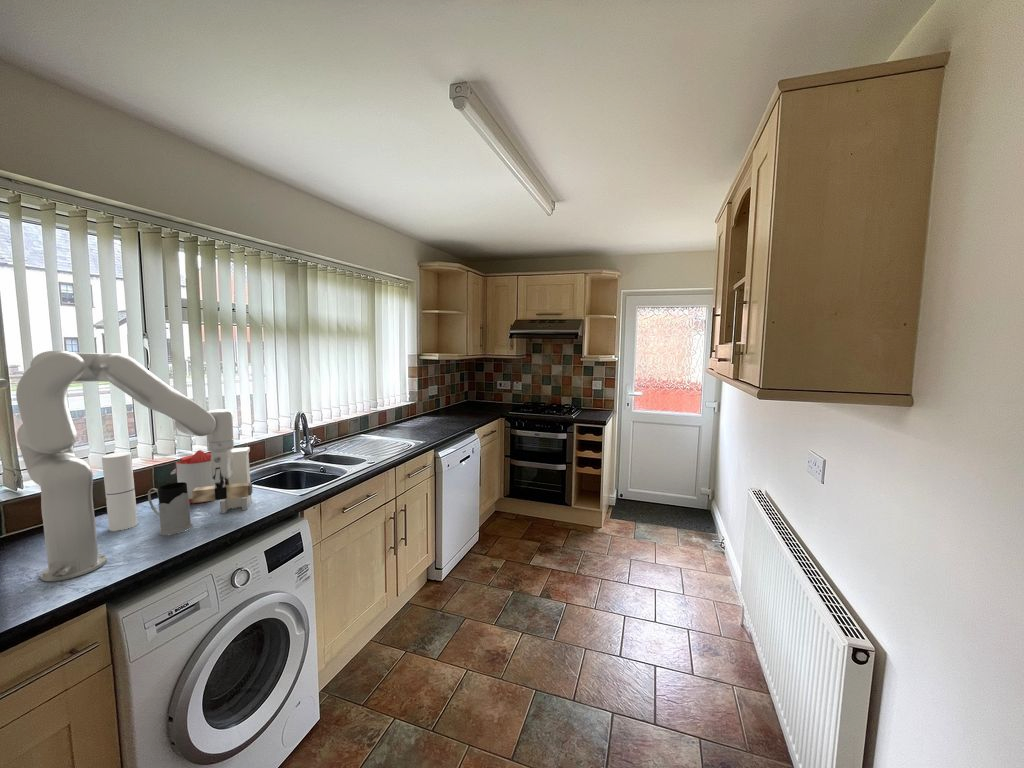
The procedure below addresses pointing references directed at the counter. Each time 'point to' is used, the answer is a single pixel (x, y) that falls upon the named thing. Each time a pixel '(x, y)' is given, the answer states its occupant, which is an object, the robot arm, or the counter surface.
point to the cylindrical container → (119, 491)
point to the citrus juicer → (194, 472)
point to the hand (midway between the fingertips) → (222, 496)
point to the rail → (231, 489)
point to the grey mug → (172, 508)
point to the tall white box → (238, 479)
